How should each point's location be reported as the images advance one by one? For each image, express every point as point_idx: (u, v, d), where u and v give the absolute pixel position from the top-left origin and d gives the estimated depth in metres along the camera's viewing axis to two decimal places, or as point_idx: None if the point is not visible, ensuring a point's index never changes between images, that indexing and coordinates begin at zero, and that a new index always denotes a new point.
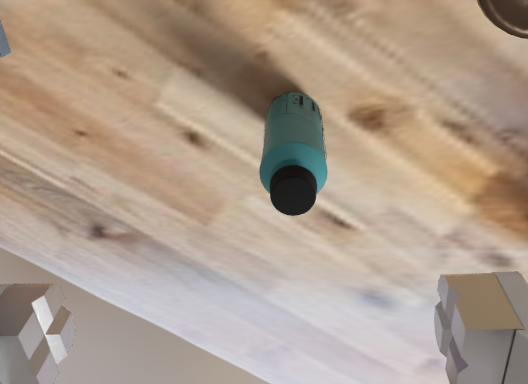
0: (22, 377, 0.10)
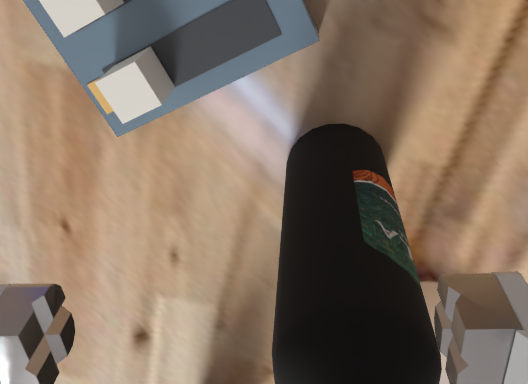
0: (22, 377, 0.10)
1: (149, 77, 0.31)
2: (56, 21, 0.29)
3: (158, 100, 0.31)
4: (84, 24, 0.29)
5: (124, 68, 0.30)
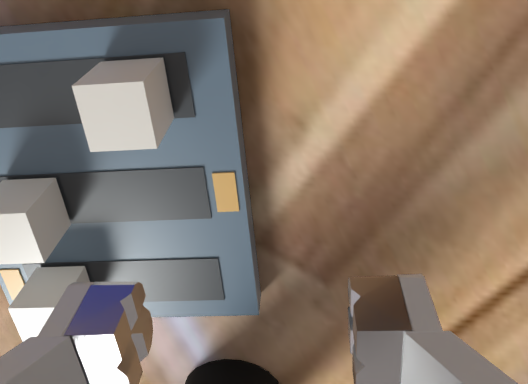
0: (112, 376, 0.10)
1: None
2: None
3: None
4: (16, 262, 0.26)
5: (47, 308, 0.27)
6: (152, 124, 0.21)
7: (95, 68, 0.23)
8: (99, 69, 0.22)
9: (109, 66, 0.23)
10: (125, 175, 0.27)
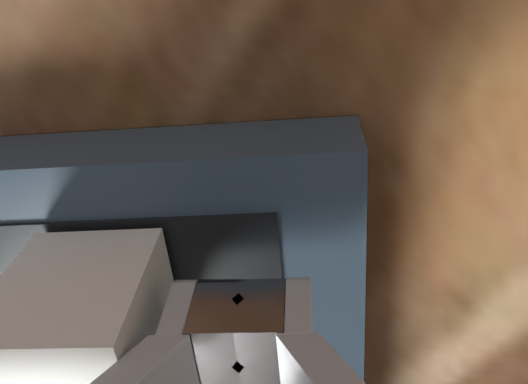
0: (225, 376, 0.10)
1: None
2: None
3: None
4: None
5: None
6: None
7: (18, 264, 0.11)
8: (25, 269, 0.10)
9: (48, 257, 0.11)
10: None
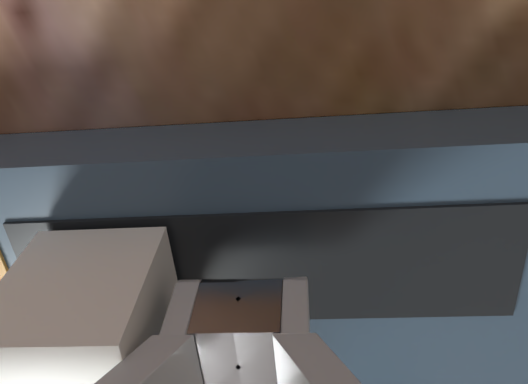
0: (229, 376, 0.10)
1: None
2: None
3: None
4: None
5: None
6: None
7: (22, 262, 0.11)
8: (29, 267, 0.10)
9: (52, 255, 0.11)
10: None
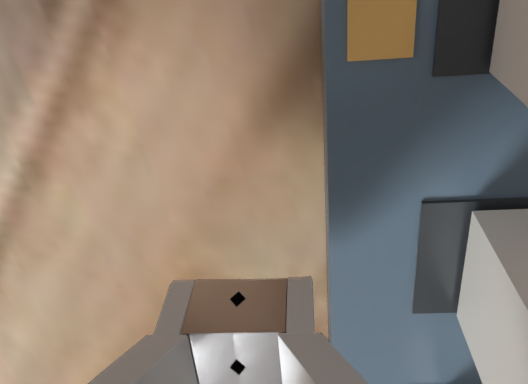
0: (223, 376, 0.10)
1: None
2: None
3: None
4: None
5: None
6: None
7: None
8: None
9: None
10: None
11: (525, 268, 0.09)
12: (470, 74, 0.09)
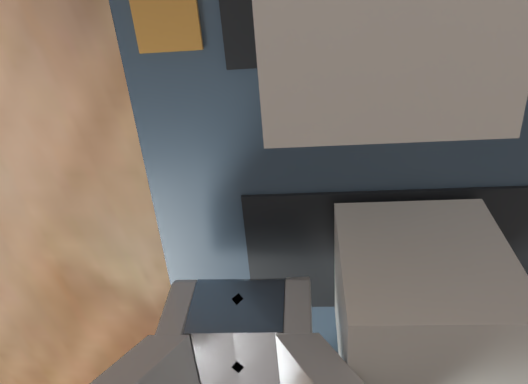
0: (225, 375, 0.10)
1: None
2: None
3: None
4: None
5: None
6: None
7: None
8: None
9: None
10: None
11: (361, 260, 0.09)
12: None
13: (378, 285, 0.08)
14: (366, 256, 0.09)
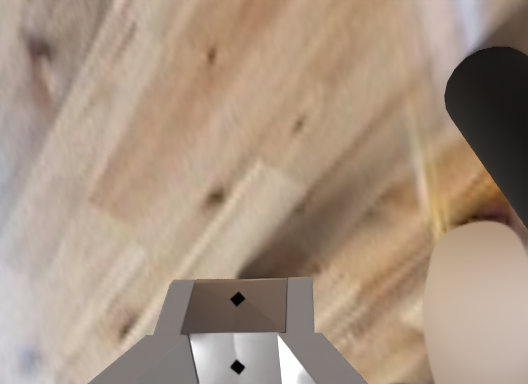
0: (223, 376, 0.10)
1: None
2: None
3: None
4: None
5: None
6: None
7: None
8: None
9: None
10: None
11: None
12: None
13: None
14: None
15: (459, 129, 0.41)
